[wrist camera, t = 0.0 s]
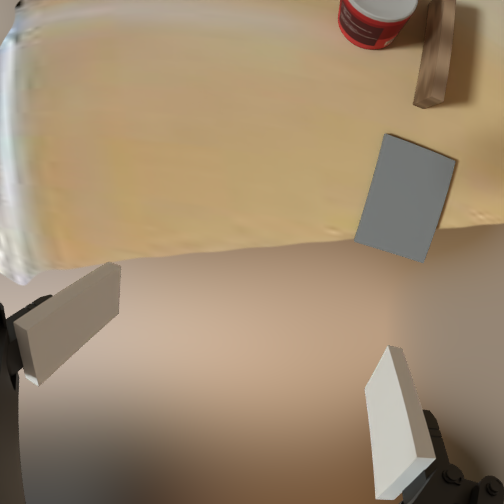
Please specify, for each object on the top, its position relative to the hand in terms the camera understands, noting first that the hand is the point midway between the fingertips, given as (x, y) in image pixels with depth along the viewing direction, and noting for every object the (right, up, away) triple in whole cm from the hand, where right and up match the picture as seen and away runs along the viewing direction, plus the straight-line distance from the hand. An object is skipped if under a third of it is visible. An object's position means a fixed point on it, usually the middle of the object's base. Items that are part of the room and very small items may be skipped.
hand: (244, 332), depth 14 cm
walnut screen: (+23, +29, +16) cm, 40 cm away
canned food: (+15, +32, +17) cm, 39 cm away
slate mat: (+20, +10, +23) cm, 32 cm away
